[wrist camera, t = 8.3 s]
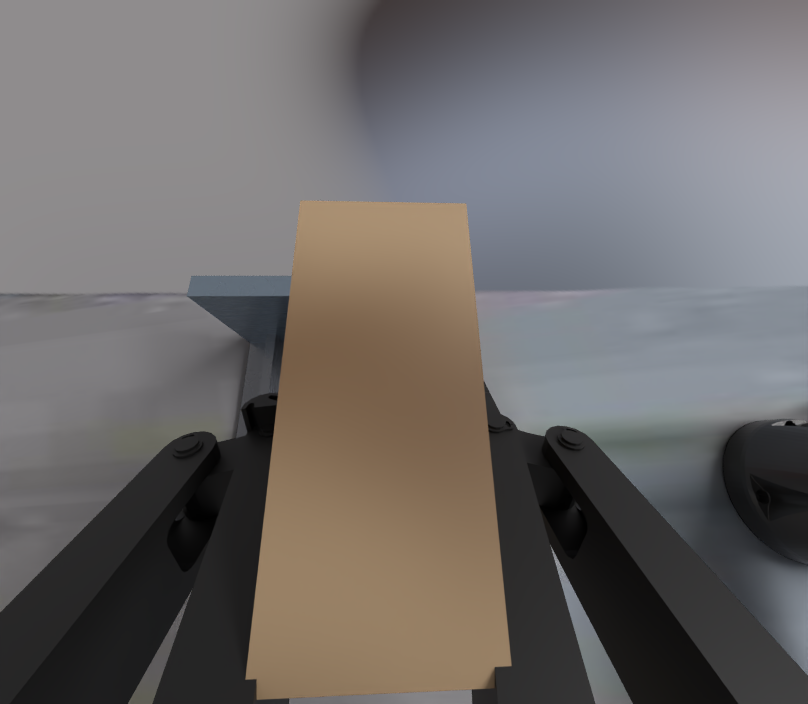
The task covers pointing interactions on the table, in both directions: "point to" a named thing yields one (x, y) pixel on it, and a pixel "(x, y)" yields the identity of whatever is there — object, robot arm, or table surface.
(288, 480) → the door panel
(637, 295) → the table surface
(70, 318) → the table surface
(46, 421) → the table surface
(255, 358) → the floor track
